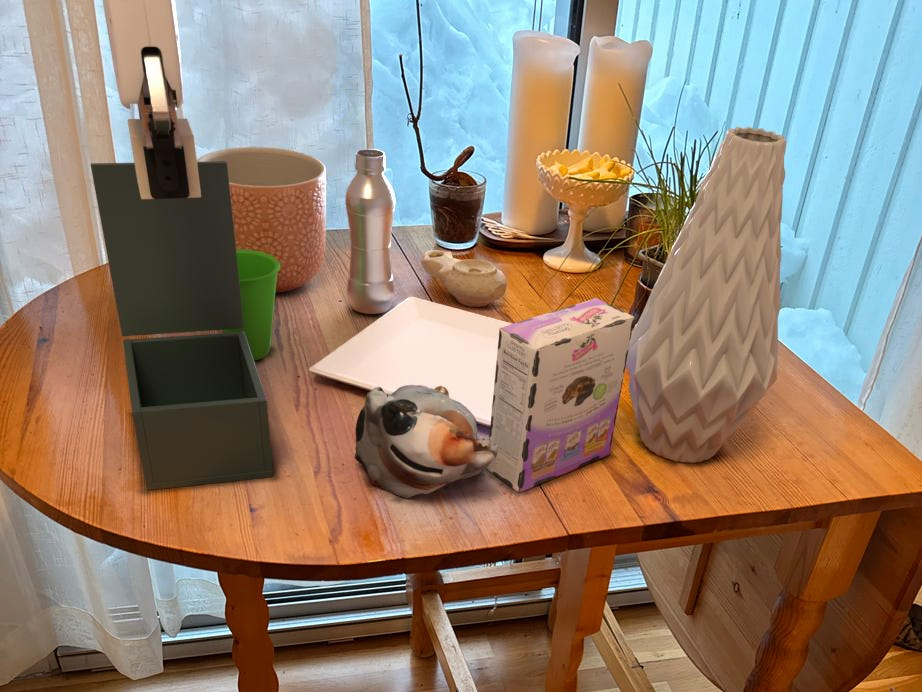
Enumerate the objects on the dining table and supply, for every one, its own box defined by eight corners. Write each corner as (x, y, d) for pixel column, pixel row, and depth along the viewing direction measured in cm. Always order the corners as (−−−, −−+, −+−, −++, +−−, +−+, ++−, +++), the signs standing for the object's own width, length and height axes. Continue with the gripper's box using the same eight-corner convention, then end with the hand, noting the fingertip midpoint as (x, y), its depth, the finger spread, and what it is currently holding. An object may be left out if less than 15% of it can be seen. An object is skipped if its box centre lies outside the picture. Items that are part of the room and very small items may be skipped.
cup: (234, 375, 114) (225, 284, 107) (198, 345, 119) (187, 257, 112) (299, 357, 119) (294, 269, 112) (262, 330, 124) (255, 244, 116)
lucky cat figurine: (500, 453, 105) (532, 382, 93) (456, 540, 101) (484, 477, 88) (378, 392, 105) (394, 311, 92) (329, 476, 100) (338, 404, 87)
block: (141, 199, 81) (131, 135, 78) (137, 180, 85) (127, 118, 81) (201, 197, 83) (193, 134, 79) (194, 179, 86) (187, 118, 83)
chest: (273, 477, 99) (267, 400, 93) (146, 490, 95) (132, 412, 89) (251, 404, 110) (244, 331, 104) (136, 414, 106) (122, 339, 100)
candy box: (574, 434, 110) (597, 295, 99) (610, 457, 107) (638, 315, 96) (483, 469, 103) (497, 323, 92) (519, 494, 100) (537, 346, 89)
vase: (776, 479, 106) (882, 164, 84) (636, 486, 103) (708, 160, 81) (719, 405, 118) (799, 112, 96) (592, 409, 115) (645, 107, 93)
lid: (227, 162, 93) (221, 153, 96) (90, 165, 89) (89, 154, 93) (244, 328, 103) (238, 314, 106) (122, 336, 99) (120, 321, 103)
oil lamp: (427, 273, 142) (429, 238, 139) (518, 292, 139) (522, 257, 136) (400, 298, 135) (401, 263, 131) (496, 319, 132) (499, 283, 128)
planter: (335, 303, 132) (332, 187, 121) (209, 305, 128) (195, 186, 118) (322, 256, 144) (318, 147, 134) (206, 257, 140) (193, 145, 130)
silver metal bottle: (403, 308, 132) (407, 153, 119) (375, 324, 128) (376, 165, 114) (366, 295, 134) (365, 141, 121) (337, 311, 130) (332, 153, 116)
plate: (585, 356, 125) (587, 341, 124) (505, 444, 107) (507, 428, 106) (409, 309, 132) (410, 294, 131) (307, 384, 114) (306, 368, 113)
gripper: (74, -87, 76) (117, 157, 88) (81, -55, 64) (128, 222, 77) (171, -83, 78) (200, 156, 90) (195, -51, 66) (223, 218, 79)
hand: (167, 184), depth 83 cm, fingers closed on block, 5 cm apart
